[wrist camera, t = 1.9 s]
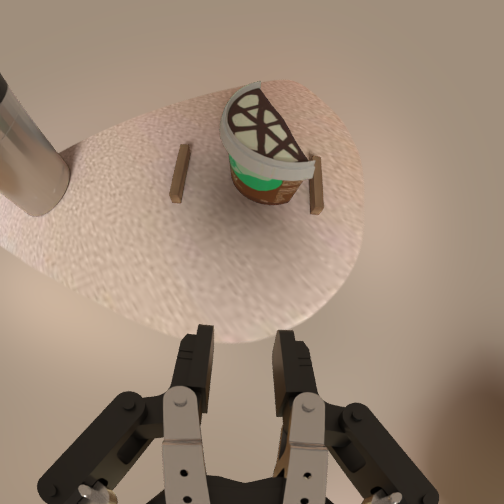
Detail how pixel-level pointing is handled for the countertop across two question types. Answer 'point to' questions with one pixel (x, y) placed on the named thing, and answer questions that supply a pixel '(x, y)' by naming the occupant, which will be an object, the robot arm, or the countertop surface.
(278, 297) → the countertop surface
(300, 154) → the food container
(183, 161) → the slot rails
